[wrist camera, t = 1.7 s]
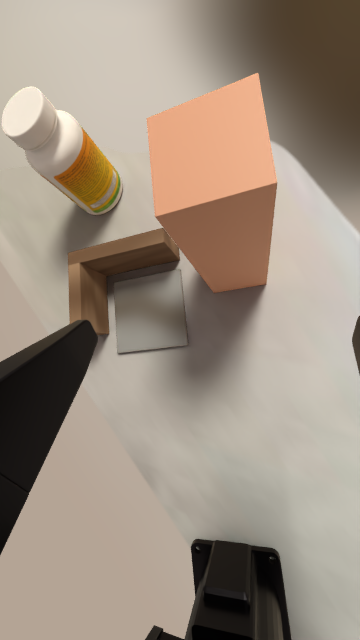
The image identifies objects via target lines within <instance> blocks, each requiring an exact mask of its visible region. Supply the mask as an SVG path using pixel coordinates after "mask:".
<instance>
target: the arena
mask: <svg viewBox="0 0 360 640" xmlns="http://www.w3.org/2000/svg"><path fill="white" fill-rule="evenodd" d="M177 260H180V256H179V248H178V246H177V245H176V244H175V243H174V241H173V240H172V239H171V237H170V236H169V235H168V234H167V232H166V231H165V230H164V228H160V229H156V230H153V231H149V232H145V233H141V234H138V235H134V236H130V237H126V238H122V239H119V240H115V241H111V242H107V243H103V244H100V245H96V246H92V247H88V248H84V249H81V250H77V251H73V252H69V253H68V272H69V313H70V324H71V323H73V322H75V321H77V320H89V321H90V322H91V324H92V326H93V328H94V330H95V332H96V334H97V335H104V334H109V320H108V300H107V280H106V276H109V275H113V274H118V273H122V272H127V271H131V270H136V269H141V268H145V267H150V266H154V265H159V264H163V263H168V262H173V261H177ZM114 299H115V317H116V336H117V353H124V352H132V351H141V350H150V349H159V348H168V347H177V346H186V345H188V336H187V326H186V316H185V306H184V296H183V286H182V276H181V270H180V269H178V270H173V271H168V272H163V273H158V274H154V275H149V276H144V277H139V278H134V279H129V280H125V281H120V282H115V283H114Z"/></svg>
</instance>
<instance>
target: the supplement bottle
mask: <svg viewBox="0 0 360 640" xmlns="http://www.w3.org/2000/svg"><path fill="white" fill-rule="evenodd" d="M2 128H3V131H4V133H5V134H6V135H7V136H8V137H9V138H10V139H12V140H13V141H14V142H15V143H16V144H17V145H18V146H19V147H21V148H23V149H24V150H25V154H26V157H27V160H28V162H29V164H30V165H31V167H32V168H33V169H34V170H35V171H37V172H38V173H39V174H40V175H41V176H42V177H44V178H45V179H46V180H47V181H49V182H50V183H51V184H52V185H54V186H55V187H56V188H57V189H59V190H60V191H61V192H62V193H63V194H65V195H66V196H67V197H68V198H70V199H71V200H72V201H73V202H74V203H76V204H77V205H78V206H79V207H81V208H82V209H83V210H85V211H86V212H88V213H90V214H93V215H100V214H104V213H106V212H108V211H109V210H111V209H112V208H113V207H114V206H115V205H116V204H117V202H118V201H119V199H120V196H121V193H122V180H121V177H120V175H119V174H118V172H117V171H116V170H115V168H114V167H113V166H112V165H111V163H110V162H109V161H108V160H107V158H106V157H105V156H104V155H103V153H102V152H101V151H100V149H99V148H98V147H97V146H96V145H95V143H94V142H93V141H92V139H91V138H90V137H89V136H88V134H87V133H86V132H85V131H84V129H83V128H82V127H81V126H80V124H79V123H78V122H77V121H76V120H75V118H73V116H71V115H70V114H69V113H67V112H64V111H61V110H55V108H54V107H53V105H52V104H51V102H50V101H49V100H48V99H47V98H46V97H45V96H44V94H43V93H42V92H41V91H40V90H39V89H37V88H35V87H26V88H23V89H21V90H20V91H18V92H17V93H16V94H15V95H14V96H13V97H12V98H11V99H10V100H9V102H8V103H7V105H6V107H5V109H4V111H3V115H2Z"/></svg>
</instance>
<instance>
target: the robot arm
mask: <svg viewBox="0 0 360 640" xmlns="http://www.w3.org/2000/svg"><path fill="white" fill-rule="evenodd" d="M97 341H98V336H97V334H96V332H95V330H94V328H93V326H92V324H91V322H90V321H89V320H77V321H75V322H73V323H71V324H69V325H67V326H66V327H64V328H62V329H60V330H58V331H56V332H55V333H53V334H51V335H49V336H47V337H46V338H44V339H42V340H40V341H38V342H36V343H34V344H32V345H31V346H29V347H27V348H25V349H23V350H22V351H20V352H18V353H16V354H14V355H13V356H11V357H9V358H7V359H5V360H3V361H1V362H0V555H1V552H2V550H3V548H4V546H5V544H6V542H7V539H8V538H9V536H10V533H11V531H12V529H13V527H14V525H15V523H16V520H17V519H18V517H19V514H20V512H21V510H22V508H23V506H24V504H25V502H26V500H27V497H28V495H29V492H30V491H31V489H32V486H33V484H34V482H35V480H36V478H37V476H38V474H39V472H40V470H41V467H42V465H43V463H44V461H45V459H46V457H47V455H48V453H49V451H50V448H51V446H52V444H53V442H54V440H55V438H56V435H57V434H58V432H59V429H60V427H61V425H62V423H63V421H64V419H65V417H66V415H67V413H68V410H69V408H70V406H71V404H72V402H73V400H74V398H75V396H76V394H77V391H78V389H79V387H80V385H81V383H82V381H83V379H84V377H85V374H86V372H87V369H88V366H89V363H90V361H91V358H92V355H93V352H94V350H95V347H96V344H97ZM352 344H353V348H354V353H355V357H356V361H357V365H358V370H359V374H360V316H359V317H358V319H357V322H356V326H355V329H354V333H353V337H352ZM196 546H198V547H199V548H200V550H198V549H197V548H196ZM191 553H192V564H193V574H194V585H195V596H196V597H195V601H194V605H193V609H192V613H191V616H190V620H189V624H188V628H187V632H186V636H185V639H181V638H179V637H176V636H173V635H171V634H168V633H166V632H163V629H162V628H160V627H157V626H154V627H153V628H152V630H151V631H150V633H149V634H148V636H147V638H146V639H145V640H291V633H290V626H289V619H288V612H287V605H286V597H285V590H284V583H283V576H282V569H281V562H280V556H279V553H278V552H277V551H276V550H275V549H273V548H267V547H259V546H251V545H248V544H243V543H234V542H226V541H218V540H216V541H210V540H202V539H195V540H194V541H193V543H192V546H191ZM270 556H273V557H275V558H276V559H275V560H272V559H270V558H269V557H270Z"/></svg>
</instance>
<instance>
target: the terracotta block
mask: <svg viewBox="0 0 360 640" xmlns="http://www.w3.org/2000/svg"><path fill="white" fill-rule="evenodd" d="M147 126H148V127H147V128H148V139H149V151H150V163H151V174H152V186H153V198H154V209H155V217H156V218H157V220H158V221H159V222H160V224H161V225H162V226H163V227H164V229H165V230H166V231H167V233H168V234H169V235H170V237H171V238H172V239H173V240H174V242H175V243H176V244H177V246H178V247H179V248H180V250H181V251H182V252H183V253H184V255H185V256H186V257H187V259H188V260H189V261H190V263H191V264H192V265H193V266H194V268H195V269H196V270H197V272H198V273H199V274H200V276H201V277H202V278H203V279H204V281H205V282H206V283H207V285H208V286H209V287H210V288H211V290H212V291H213V292H214V293H217V292H223V291H229V290H235V289H241V288H247V287H252V286H258V285H264V284H266V283H267V273H268V264H269V255H270V245H271V236H272V226H273V217H274V208H275V198H276V189H277V178H276V173H275V167H274V161H273V156H272V150H271V144H270V138H269V133H268V127H267V121H266V116H265V110H264V104H263V98H262V93H261V87H260V81H259V76H258V73H256V74H254V75H252V76H249V77H246V78H244V79H242V80H239V81H237V82H234V83H232V84H229V85H227V86H224V87H222V88H220V89H217V90H215V91H212V92H210V93H207V94H205V95H202V96H200V97H198V98H195V99H193V100H191V101H188V102H185V103H183V104H181V105H178V106H176V107H173V108H171V109H169V110H166V111H163V112H161V113H159V114H156V115H154V116H151V117H149V118H147Z"/></svg>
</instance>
